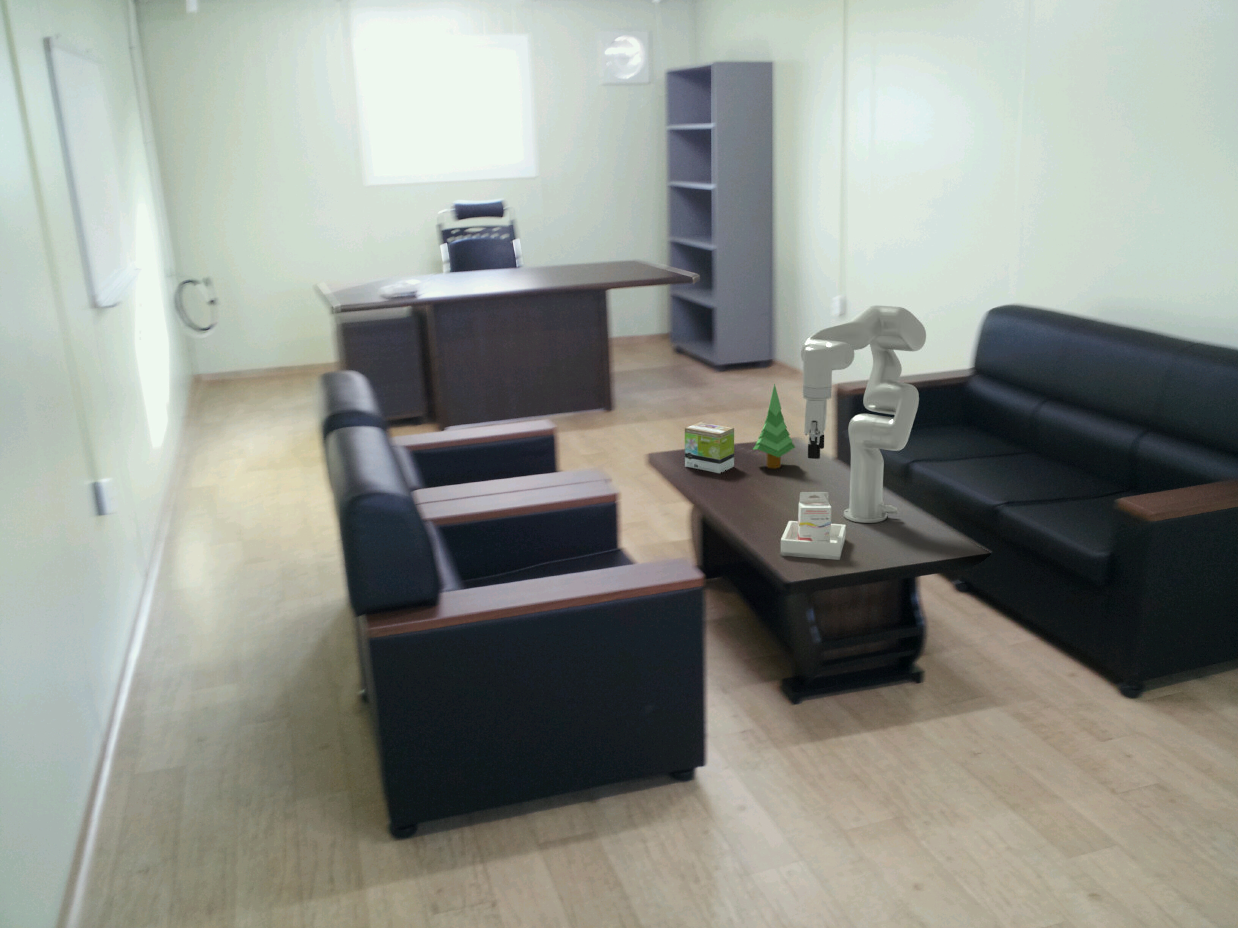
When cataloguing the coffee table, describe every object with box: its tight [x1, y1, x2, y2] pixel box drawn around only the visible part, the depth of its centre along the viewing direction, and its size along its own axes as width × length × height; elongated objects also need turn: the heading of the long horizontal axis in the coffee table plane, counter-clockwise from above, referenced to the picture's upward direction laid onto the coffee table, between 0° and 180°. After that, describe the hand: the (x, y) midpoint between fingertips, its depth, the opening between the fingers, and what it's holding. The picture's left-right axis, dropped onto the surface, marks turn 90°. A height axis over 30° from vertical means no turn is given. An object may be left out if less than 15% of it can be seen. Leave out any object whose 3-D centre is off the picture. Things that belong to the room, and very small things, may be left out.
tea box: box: [684, 421, 735, 474], centre depth 366 cm, size 15×10×15 cm
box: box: [780, 520, 847, 561], centre depth 289 cm, size 16×16×4 cm
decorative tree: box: [752, 383, 796, 469], centre depth 362 cm, size 14×16×30 cm
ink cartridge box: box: [797, 491, 832, 542], centre depth 287 cm, size 9×5×15 cm, turn 88°
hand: (816, 453), depth 282 cm, fingers open, 9 cm apart
